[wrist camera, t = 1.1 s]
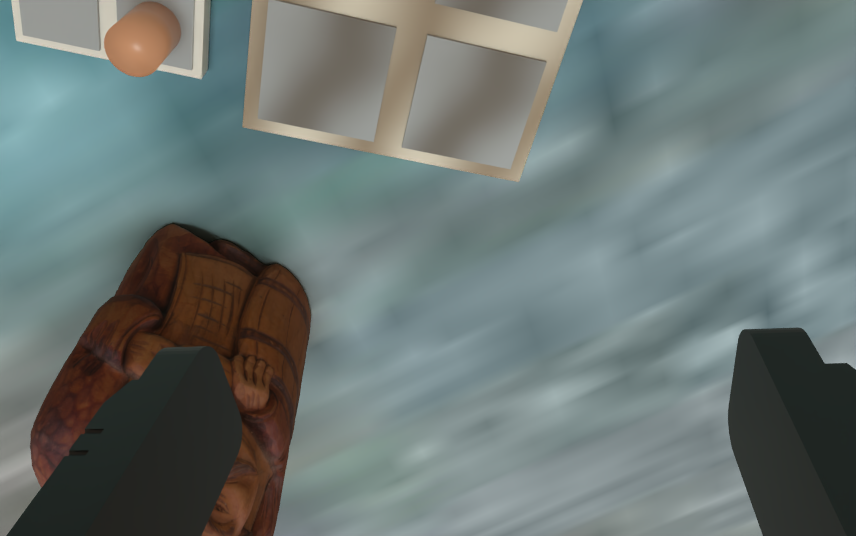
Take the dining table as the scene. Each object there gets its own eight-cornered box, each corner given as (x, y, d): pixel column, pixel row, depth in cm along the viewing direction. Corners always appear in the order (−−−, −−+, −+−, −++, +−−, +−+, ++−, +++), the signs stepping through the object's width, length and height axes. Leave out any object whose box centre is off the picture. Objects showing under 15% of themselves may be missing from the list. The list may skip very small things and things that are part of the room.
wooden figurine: (347, 296, 40) (314, 588, 26) (295, 360, 43) (239, 654, 29) (158, 199, 36) (-8, 484, 22) (115, 278, 39) (-56, 574, 25)
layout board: (247, 117, 34) (241, 128, 32) (274, -222, 26) (268, -222, 24) (515, 170, 36) (519, 183, 35) (618, -126, 28) (627, -122, 27)
